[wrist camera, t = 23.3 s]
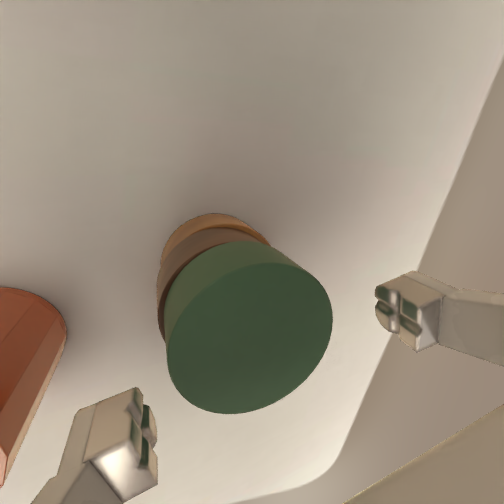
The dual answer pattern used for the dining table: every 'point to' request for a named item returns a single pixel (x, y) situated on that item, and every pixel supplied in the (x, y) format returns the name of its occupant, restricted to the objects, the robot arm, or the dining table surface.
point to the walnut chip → (186, 254)
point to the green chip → (244, 327)
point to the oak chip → (206, 223)
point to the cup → (24, 365)
